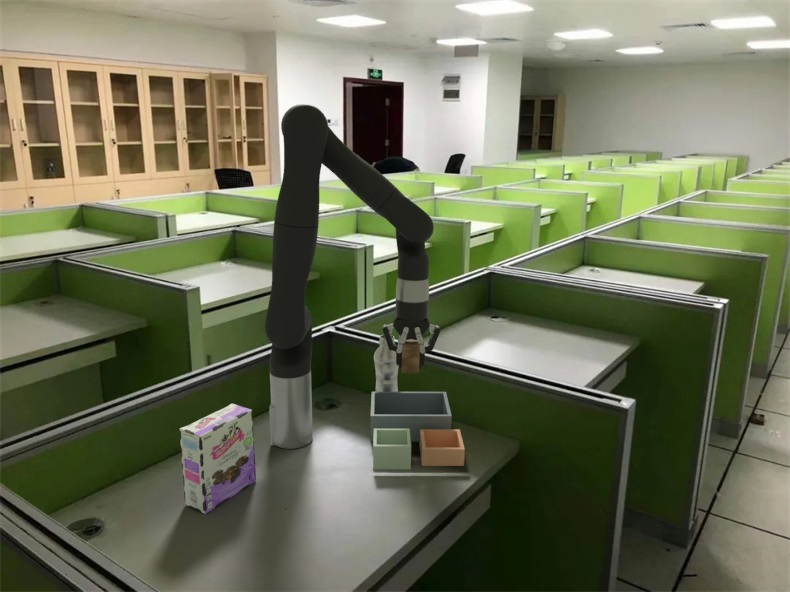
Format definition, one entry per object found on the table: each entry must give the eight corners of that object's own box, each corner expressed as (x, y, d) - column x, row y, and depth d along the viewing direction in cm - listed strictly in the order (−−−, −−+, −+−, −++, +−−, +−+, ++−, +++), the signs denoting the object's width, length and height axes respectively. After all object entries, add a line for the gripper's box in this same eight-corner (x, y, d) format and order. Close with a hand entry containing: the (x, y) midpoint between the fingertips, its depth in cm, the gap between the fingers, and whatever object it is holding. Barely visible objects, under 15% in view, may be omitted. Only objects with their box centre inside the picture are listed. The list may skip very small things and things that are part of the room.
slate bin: (370, 443, 145) (370, 415, 143) (371, 417, 158) (371, 391, 156) (450, 443, 145) (451, 416, 143) (445, 417, 158) (446, 391, 156)
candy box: (205, 515, 117) (198, 436, 113) (184, 505, 120) (177, 427, 116) (257, 481, 129) (253, 408, 124) (236, 473, 132) (232, 401, 127)
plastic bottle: (396, 416, 158) (397, 342, 153) (370, 414, 159) (371, 340, 154) (401, 406, 164) (402, 333, 159) (376, 403, 165) (376, 331, 160)
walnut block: (401, 372, 145) (402, 344, 143) (401, 366, 149) (401, 338, 147) (418, 373, 145) (419, 344, 144) (417, 366, 149) (418, 338, 147)
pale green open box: (373, 471, 133) (373, 446, 131) (373, 452, 141) (373, 428, 139) (410, 471, 133) (411, 446, 131) (409, 452, 141) (409, 428, 139)
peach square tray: (421, 468, 134) (422, 449, 133) (419, 447, 143) (419, 429, 142) (463, 468, 135) (464, 449, 133) (458, 447, 143) (459, 429, 142)
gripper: (381, 300, 139) (379, 372, 143) (444, 301, 139) (441, 373, 144) (381, 291, 146) (379, 360, 151) (441, 292, 146) (438, 361, 151)
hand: (410, 366), depth 147 cm, fingers closed on walnut block, 4 cm apart
